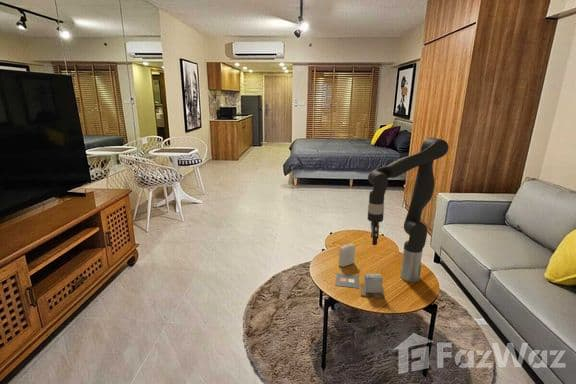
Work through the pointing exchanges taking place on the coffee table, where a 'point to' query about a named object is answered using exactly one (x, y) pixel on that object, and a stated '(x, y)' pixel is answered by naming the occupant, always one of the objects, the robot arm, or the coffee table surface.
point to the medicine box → (373, 283)
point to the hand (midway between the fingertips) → (373, 241)
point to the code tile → (347, 280)
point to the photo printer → (346, 255)
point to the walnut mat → (373, 295)
